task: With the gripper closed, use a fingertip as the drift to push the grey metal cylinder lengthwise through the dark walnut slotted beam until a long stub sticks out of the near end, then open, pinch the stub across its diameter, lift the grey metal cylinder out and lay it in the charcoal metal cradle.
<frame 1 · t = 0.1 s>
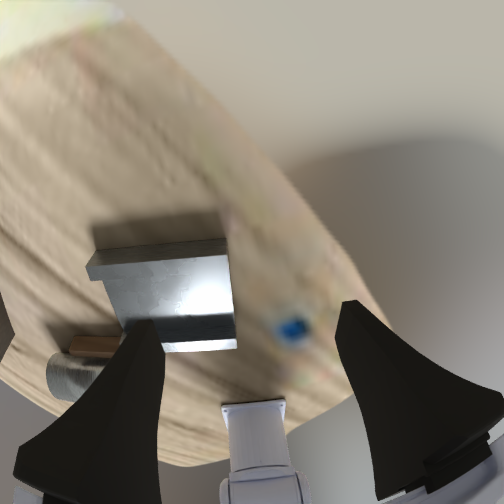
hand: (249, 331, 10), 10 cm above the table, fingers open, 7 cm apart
cradle: (168, 294, 22), on the table
grey metal cylinder: (106, 361, 26), on the table
beam: (117, 363, 26), on the table
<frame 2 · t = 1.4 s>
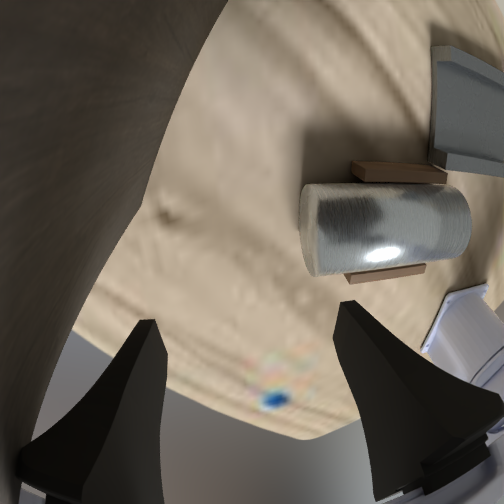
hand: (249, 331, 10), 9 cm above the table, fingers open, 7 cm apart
cradle: (473, 114, 15), on the table
grey metal cylinder: (370, 217, 19), on the table, tilted 14°
beam: (388, 217, 19), on the table
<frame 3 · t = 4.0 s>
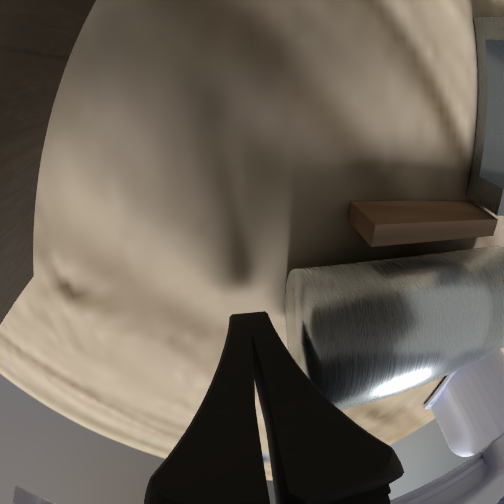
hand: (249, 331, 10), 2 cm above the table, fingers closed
grey metal cylinder: (395, 282, 12), on the table, touching gripper
beam: (402, 281, 12), on the table
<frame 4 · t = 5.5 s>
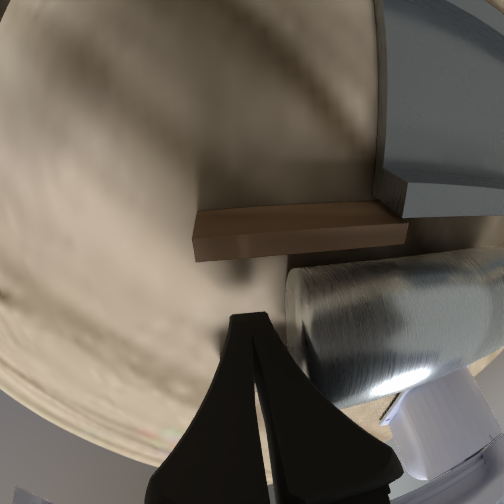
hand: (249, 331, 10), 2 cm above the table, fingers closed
cradle: (469, 101, 8), on the table
grey metal cylinder: (395, 281, 12), on the table, touching gripper
beam: (292, 296, 12), on the table
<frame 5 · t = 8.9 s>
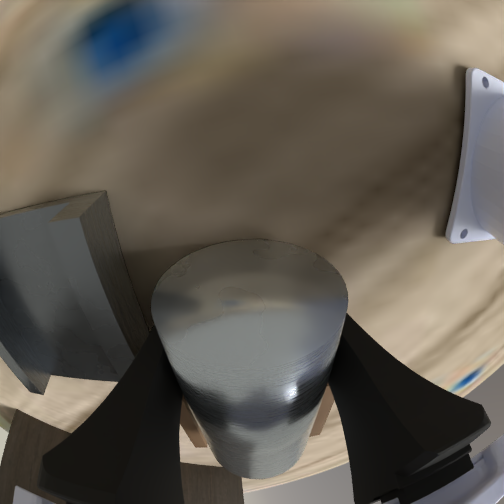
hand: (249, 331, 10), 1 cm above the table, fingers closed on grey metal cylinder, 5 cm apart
cradle: (56, 307, 11), on the table
wood block: (120, 470, 26), on the table
grey metal cylinder: (248, 343, 13), on the table, touching gripper
beam: (253, 396, 16), on the table
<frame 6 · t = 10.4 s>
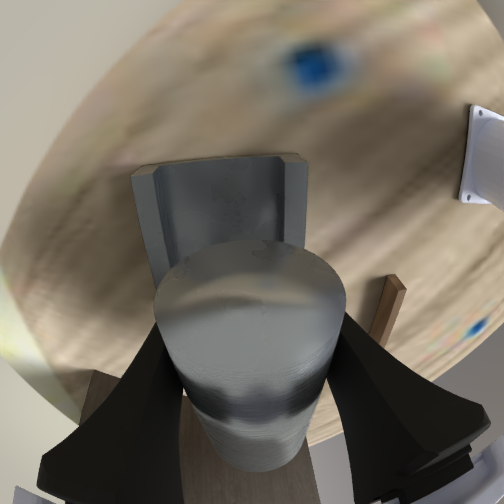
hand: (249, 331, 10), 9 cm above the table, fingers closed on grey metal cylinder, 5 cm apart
cradle: (225, 235, 18), on the table
wood block: (178, 433, 33), on the table
grey metal cylinder: (246, 339, 13), point 7 cm above the table, touching gripper
beam: (342, 313, 23), on the table
when the fingers open (4 cm above the table, at t = 11.9 s): grey metal cylinder drops 1 cm, resting on cradle.
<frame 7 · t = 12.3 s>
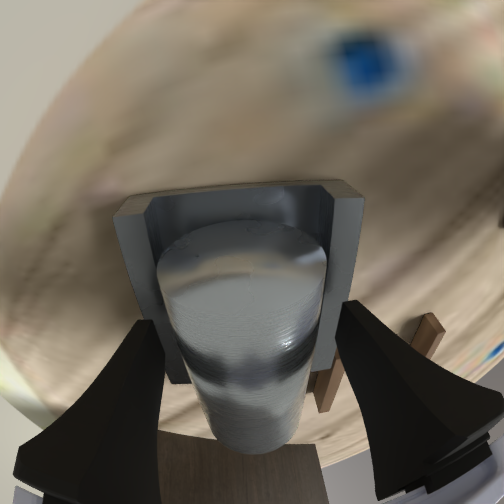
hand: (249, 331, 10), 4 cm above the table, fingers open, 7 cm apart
cradle: (243, 284, 14), on the table
wood block: (184, 464, 29), on the table
grey metal cylinder: (244, 320, 14), point 1 cm above the table, touching cradle
beam: (372, 356, 18), on the table
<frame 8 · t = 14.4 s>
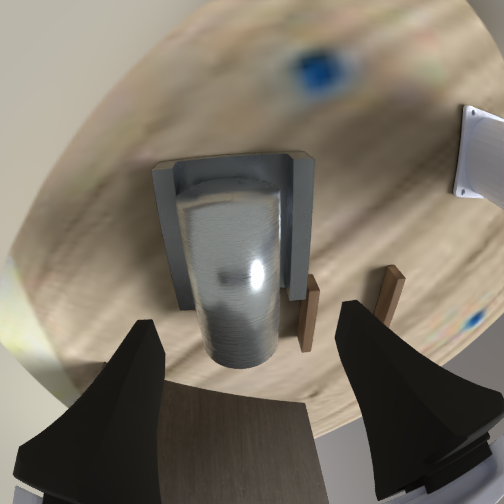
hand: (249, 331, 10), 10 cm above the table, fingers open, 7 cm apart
cradle: (236, 227, 19), on the table
wood block: (185, 427, 35), on the table
grey metal cylinder: (237, 255, 20), point 1 cm above the table, tilted 6°, touching cradle
beam: (345, 302, 24), on the table
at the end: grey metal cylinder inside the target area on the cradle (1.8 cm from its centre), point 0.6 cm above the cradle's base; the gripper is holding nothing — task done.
